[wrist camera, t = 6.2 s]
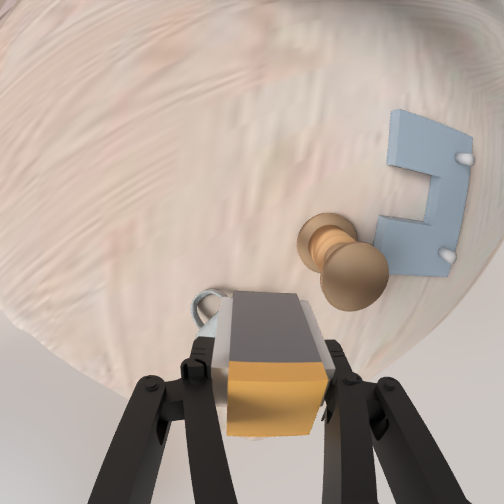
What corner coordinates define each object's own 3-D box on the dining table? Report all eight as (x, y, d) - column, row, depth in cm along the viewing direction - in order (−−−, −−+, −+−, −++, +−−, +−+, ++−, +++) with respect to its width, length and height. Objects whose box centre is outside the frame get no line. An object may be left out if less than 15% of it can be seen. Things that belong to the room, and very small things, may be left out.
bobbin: (301, 209, 35) (325, 236, 24) (359, 216, 35) (401, 243, 24) (293, 268, 38) (310, 315, 27) (348, 272, 38) (381, 315, 27)
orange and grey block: (233, 290, 18) (227, 380, 10) (296, 293, 18) (328, 380, 10) (231, 342, 19) (226, 435, 11) (288, 343, 19) (309, 434, 11)
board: (390, 111, 30) (412, 106, 25) (462, 136, 31) (485, 138, 26) (368, 266, 38) (384, 283, 33) (439, 270, 38) (458, 284, 33)
